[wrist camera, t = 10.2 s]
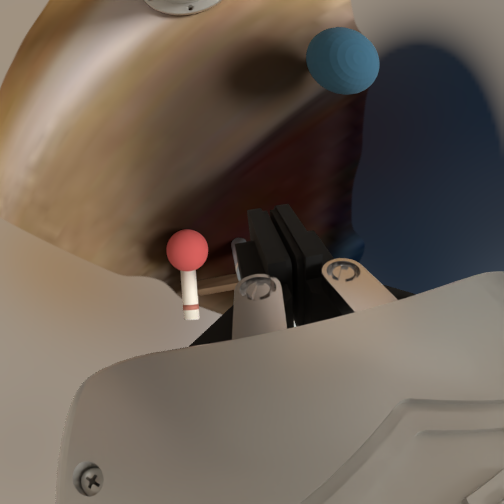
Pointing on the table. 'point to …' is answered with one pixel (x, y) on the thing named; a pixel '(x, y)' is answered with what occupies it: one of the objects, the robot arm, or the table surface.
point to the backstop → (217, 284)
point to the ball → (187, 250)
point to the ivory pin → (189, 295)
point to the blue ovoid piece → (342, 60)
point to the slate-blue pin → (235, 241)
